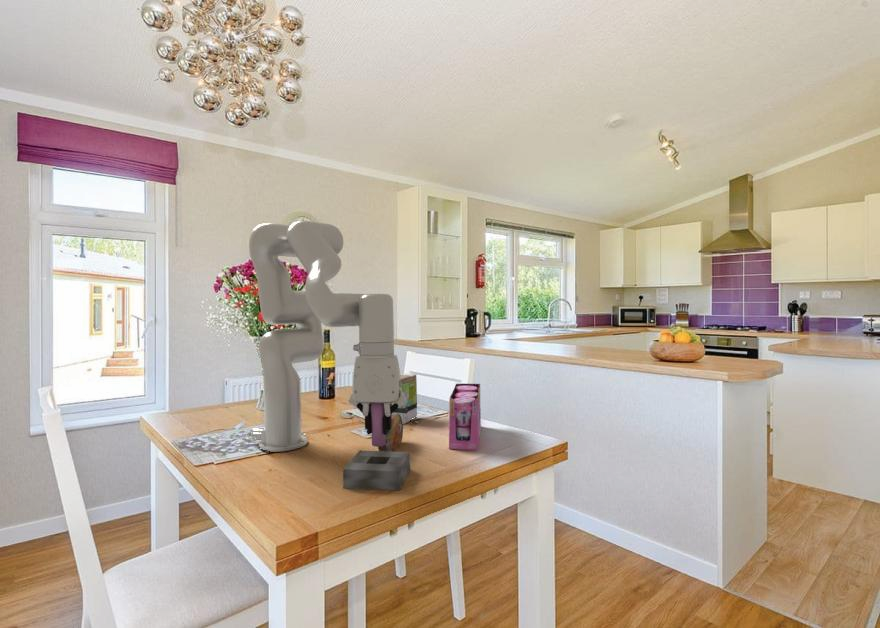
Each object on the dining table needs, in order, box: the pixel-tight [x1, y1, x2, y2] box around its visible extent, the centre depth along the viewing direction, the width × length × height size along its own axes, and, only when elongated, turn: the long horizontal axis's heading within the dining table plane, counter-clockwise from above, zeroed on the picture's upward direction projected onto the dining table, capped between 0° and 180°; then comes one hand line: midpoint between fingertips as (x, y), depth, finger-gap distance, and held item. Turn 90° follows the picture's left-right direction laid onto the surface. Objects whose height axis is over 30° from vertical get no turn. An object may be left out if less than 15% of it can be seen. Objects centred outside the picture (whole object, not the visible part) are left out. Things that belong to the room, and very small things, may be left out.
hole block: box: [342, 449, 411, 491], centre depth 101 cm, size 12×12×4 cm
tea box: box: [391, 373, 418, 425], centre depth 152 cm, size 15×10×15 cm, turn 66°
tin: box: [377, 414, 404, 452], centre depth 121 cm, size 15×3×8 cm, turn 168°
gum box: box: [448, 383, 482, 451], centre depth 130 cm, size 24×8×14 cm, turn 173°
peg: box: [371, 403, 385, 448], centre depth 101 cm, size 3×3×10 cm
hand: (378, 432), depth 101 cm, fingers closed on peg, 3 cm apart
